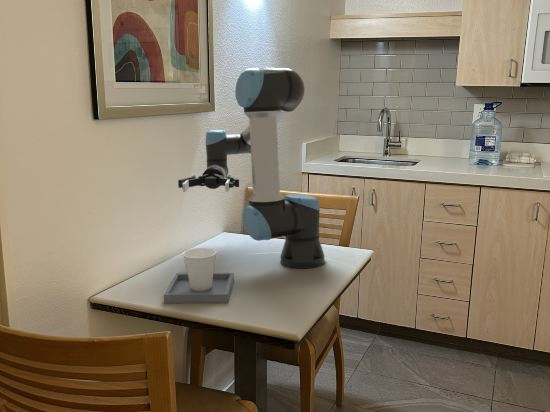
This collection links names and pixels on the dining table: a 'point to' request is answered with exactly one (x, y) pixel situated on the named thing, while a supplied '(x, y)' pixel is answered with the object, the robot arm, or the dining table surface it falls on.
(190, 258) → the cup
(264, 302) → the dining table surface
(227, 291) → the tray
